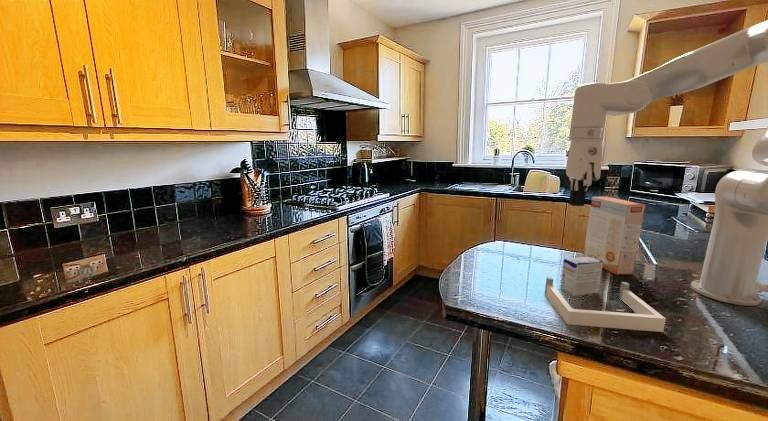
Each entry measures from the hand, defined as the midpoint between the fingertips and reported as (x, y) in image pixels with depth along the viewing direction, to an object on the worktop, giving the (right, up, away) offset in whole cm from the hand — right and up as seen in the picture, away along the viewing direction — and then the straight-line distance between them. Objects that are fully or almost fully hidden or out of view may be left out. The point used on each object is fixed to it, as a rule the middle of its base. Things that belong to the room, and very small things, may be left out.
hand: (576, 205), depth 89 cm
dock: (-3, -24, -13) cm, 28 cm away
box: (-1, -22, -3) cm, 23 cm away
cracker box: (+17, -19, +14) cm, 29 cm away
